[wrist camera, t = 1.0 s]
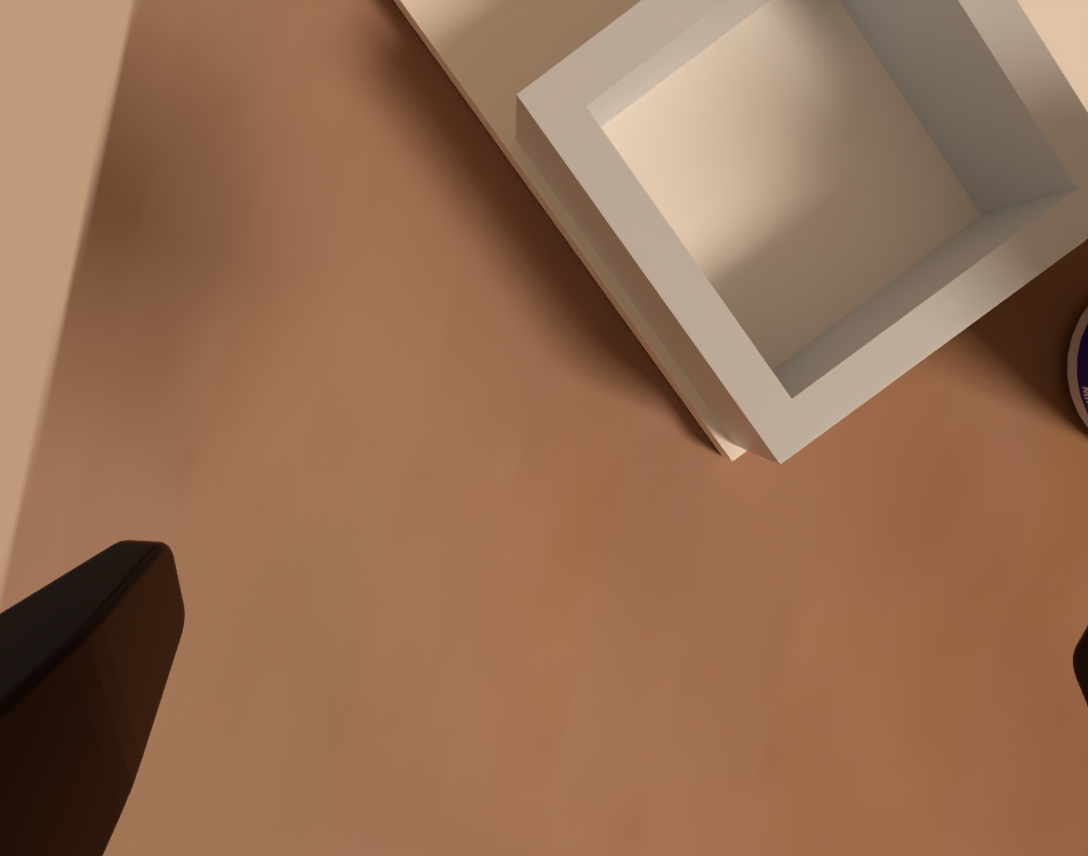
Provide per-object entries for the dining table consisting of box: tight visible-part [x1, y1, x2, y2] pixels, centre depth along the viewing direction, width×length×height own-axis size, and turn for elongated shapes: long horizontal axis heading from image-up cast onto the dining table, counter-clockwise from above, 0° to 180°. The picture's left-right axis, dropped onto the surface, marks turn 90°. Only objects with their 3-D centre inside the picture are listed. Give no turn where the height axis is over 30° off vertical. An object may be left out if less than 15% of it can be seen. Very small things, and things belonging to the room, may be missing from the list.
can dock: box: [394, 0, 1088, 464], centre depth 19 cm, size 15×15×4 cm
